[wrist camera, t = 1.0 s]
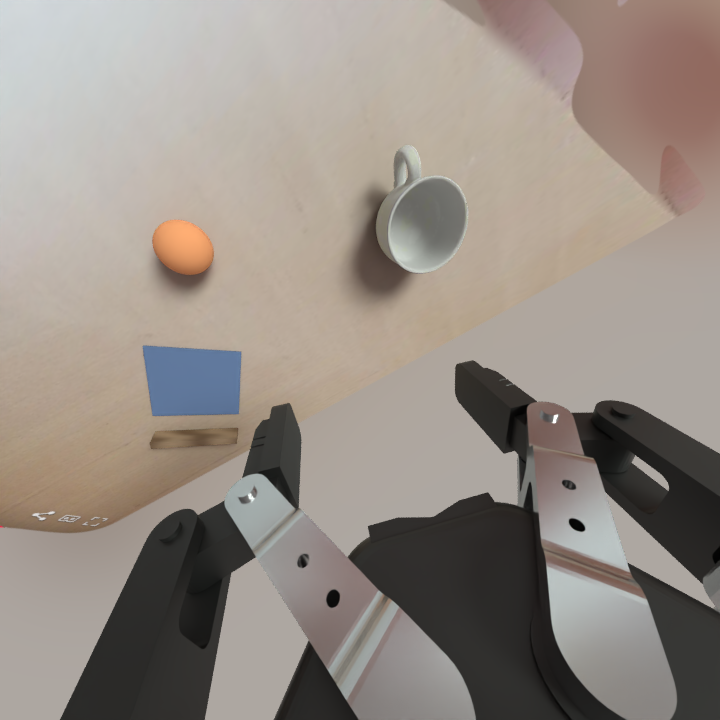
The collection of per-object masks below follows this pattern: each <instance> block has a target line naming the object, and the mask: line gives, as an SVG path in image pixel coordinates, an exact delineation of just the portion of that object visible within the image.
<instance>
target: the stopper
mask: <svg viewBox="0 0 720 720" xmlns="http://www.w3.org/2000/svg"><path fill="white" fill-rule="evenodd" d="M237 437H238V428H227V429H203V430H180V431H157V432H155V434H154V436H153V438H152V440H151V442H150V446H151V449H157V448H173V447H188V446H204V445H220V444H235V443H237Z"/></svg>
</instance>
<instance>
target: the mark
mask: <svg viewBox="0 0 720 720" xmlns="http://www.w3.org/2000/svg"><path fill="white" fill-rule="evenodd" d="M143 352H144V359H145V365H146V372H147V379H148V386H149V393H150V400H151V407H152V414H153V416H170V415H213V414H239V393H240V368H241V352H236V351H220V350H204V349H188V348H173V347H157V346H143Z"/></svg>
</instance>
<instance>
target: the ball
mask: <svg viewBox="0 0 720 720" xmlns="http://www.w3.org/2000/svg"><path fill="white" fill-rule="evenodd" d="M152 241H153V248H154V251H155V253H156V255H157V257H158V258H159V259H160V261H161V262H162V263H163V264H164V265H165V266H167V267H168V268H170V269H171V270H173V271H175V272H178V273H181V274H186V275H194V274H199V273H201V272H203V271H205V270H206V269H207V268H208V267H209V266H210V265H211V263H212V261H213V256H214V251H213V246H212V243H211V241H210V239H209V238H208V236H207V235H206V234H205V233H204V232H203V231H202V230H201V229H200V228H199V227H197V226H196V225H194V224H192V223H189V222H187V221H182V220H170V221H166V222H164V223H162V224H161V225H159V226H158V227H157V229H156V230H155V232H154V234H153V240H152Z"/></svg>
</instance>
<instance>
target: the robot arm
mask: <svg viewBox="0 0 720 720" xmlns="http://www.w3.org/2000/svg"><path fill="white" fill-rule="evenodd" d="M455 369H456V371H455V394H456V397H457V400H458V402H459V403H460V404H461V405H462V406H463V408H464V409H465V410H466V411H467V412H468V413H469V414H470V416H471V417H472V418H473V419H474V420H475V421H476V422H477V424H478V425H479V426H480V427H481V428H482V429H483V430H484V431H485V433H486V434H487V435H488V436H489V437H490V438H491V440H492V441H493V442H494V443H495V444H496V445H497V446H498V447H499V449H500V450H501V451H502V452H503V453H508V452H512V451H516V452H517V454H518V458H517V478H518V504H517V506H516V505H512V504H508V503H500V502H494V500H493V499H492V497H491V496H490V494H489V493H484V494H481V495H478V496H473V497H470V498H467V499H463V500H459V501H458V502H456V503H455V504H453V505H452V506H450V507H448V508H447V509H445V510H444V511H442V512H441V513H439V514H438V515H436V516H434V517H425V518H424V517H423V518H422V517H421V518H395V519H392V520H388V521H385V522H381V523H378V524H374V525H370V526H368V529H369V534H370V537H369V538H367V539H365V540H364V541H363V542H361V543H360V544H359V545H358V546H357V547H356V548H355V549H354V550H353V551H352V552H351V553H350V555H349V556H348V557H347V556H345V554H344V553H343V552H342V551H341V550H340V549H339V548H338V547H337V546H336V545H335V544H334V543H333V542H332V541H331V540H330V539H329V538H328V537H327V535H326V534H325V533H324V532H323V531H322V530H321V529H320V528H319V527H318V526H317V525H316V524H315V523H314V522H313V521H312V520H311V519H310V518H309V517H308V516H307V515H306V514H305V513H304V512H303V511H302V510H301V509H300V508H299V484H300V460H301V434H300V429H299V426H298V424H297V421H296V418H295V415H294V413H293V410H292V407H291V405H290V403H287V404H283V405H278V406H274V407H272V409H271V414H270V419H267V420H263V421H262V422H261V423H260V425H259V426H258V427H257V429H256V430H255V434H254V437H253V441H252V445H251V449H250V452H249V456H248V459H247V463H246V466H245V470H244V474H243V477H242V479H240V480H239V481H238V482H236V483H235V484H234V485H233V486H232V487H231V489H230V490H229V491H228V493H227V495H226V498H225V501H223V502H221V503H220V504H218V505H216V506H214V507H213V508H211V509H209V510H207V511H205V512H203V513H201V514H200V515H197V514H196V513H195V512H194V511H193V510H191V509H183V510H179V511H176V512H174V513H172V514H171V515H169V516H168V517H166V518H165V519H163V520H162V521H161V522H160V523H159V524H158V525H157V526H156V527H155V528H154V529H153V531H152V532H151V534H150V535H149V536H148V538H147V540H146V542H145V544H144V546H143V548H142V551H141V553H140V555H139V557H138V559H137V561H136V563H135V565H134V567H133V569H132V571H131V573H130V575H129V578H128V579H127V582H126V584H125V586H124V588H123V590H122V592H121V594H120V596H119V598H118V600H117V602H116V604H115V607H114V609H113V611H112V613H111V615H110V617H109V619H108V621H107V623H106V625H105V627H104V629H103V632H102V634H101V636H100V638H99V640H98V642H97V644H96V646H95V648H94V650H93V652H92V655H91V656H90V659H89V661H88V663H87V665H86V667H85V669H84V671H83V673H82V675H81V677H80V679H79V682H78V684H77V686H76V688H75V690H74V692H73V694H72V696H71V698H70V700H69V702H68V704H67V707H66V709H65V711H64V713H63V715H62V717H61V719H60V720H205V714H206V709H207V704H208V698H209V692H210V687H211V681H212V676H213V671H214V665H215V659H216V654H217V648H218V643H219V638H220V632H221V627H222V621H223V616H224V610H225V605H226V599H227V593H228V587H229V583H230V577H231V572H233V571H235V570H236V569H238V568H240V567H241V566H243V565H244V564H246V563H247V562H249V561H250V560H252V559H253V558H255V557H256V558H257V559H258V561H259V562H260V564H261V566H262V567H263V569H264V570H265V572H266V573H267V575H268V577H269V578H270V580H271V581H272V583H273V585H274V586H275V588H276V589H277V591H278V592H279V594H280V595H281V597H282V599H283V600H284V602H285V603H286V605H287V607H288V608H289V610H290V611H291V613H292V614H293V616H294V618H295V619H296V621H297V622H298V624H299V626H300V627H301V628H302V630H303V632H304V633H305V635H306V636H307V638H308V640H309V641H308V643H307V646H306V648H305V650H304V653H303V655H302V657H301V659H300V661H299V664H298V666H297V668H296V671H295V673H294V675H293V677H292V680H291V682H290V684H289V686H288V689H287V691H286V693H285V696H284V698H283V700H282V703H281V705H280V707H279V709H278V711H277V714H276V716H275V718H274V720H720V454H719V453H717V452H716V451H714V450H712V449H710V448H709V447H707V446H705V445H703V444H702V443H700V442H698V441H696V440H695V439H693V438H691V437H689V436H688V435H686V434H684V433H682V432H681V431H679V430H677V429H675V428H674V427H672V426H670V425H668V424H667V423H665V422H663V421H661V420H660V419H658V418H656V417H654V416H653V415H651V414H649V413H648V412H646V411H644V410H642V409H640V408H638V407H636V406H634V405H631V404H628V403H624V402H619V401H611V400H610V401H601V402H599V403H597V404H596V406H595V409H594V412H593V413H571V412H570V411H569V410H567V409H566V408H564V407H562V406H560V405H557V404H555V403H550V402H537V401H536V400H534V399H533V398H532V397H530V396H529V395H528V394H526V393H525V392H524V391H522V390H521V389H520V388H518V387H517V386H516V385H513V383H512V382H510V381H509V380H508V379H507V380H506V378H505V377H503V376H502V375H501V374H499V373H498V372H496V371H493V370H491V369H488V368H483V367H481V366H480V365H479V364H478V363H476V362H475V361H468V362H464V363H459V364H457V365H456V368H455ZM635 455H636V456H637V457H639V458H640V459H641V460H643V461H644V462H646V463H647V464H648V465H650V466H651V467H652V468H654V469H655V470H656V471H658V472H659V473H660V474H662V475H663V476H664V478H665V479H666V480H667V482H668V484H669V491H667V490H666V489H665V488H663V487H662V486H661V485H659V484H658V483H657V482H656V481H654V480H653V479H652V478H650V477H649V476H648V475H647V474H645V473H644V472H643V471H641V470H640V469H639V468H637V467H636V466H635V465H634V464H632V460H633V459H634V457H635ZM605 492H606V493H607V494H608V495H609V496H610V497H611V498H612V499H613V500H614V501H615V502H616V503H618V505H620V506H621V507H622V508H623V509H624V510H625V511H626V512H627V513H628V514H629V515H630V516H631V517H632V518H633V519H634V520H635V521H636V522H638V523H639V524H640V525H641V526H642V527H643V528H644V529H645V530H646V531H647V532H648V533H649V534H650V535H651V536H652V537H653V538H655V539H656V540H657V541H658V542H659V543H660V544H661V545H662V546H663V547H664V548H665V549H666V550H667V551H668V552H669V553H670V554H671V555H672V556H673V557H675V558H676V559H677V560H678V561H679V562H680V563H681V564H682V565H683V566H684V567H685V568H686V569H687V570H688V571H689V572H691V573H692V574H693V575H694V576H695V577H696V578H697V579H698V580H699V581H700V582H701V583H702V584H703V586H704V589H705V591H706V593H707V594H708V596H709V598H710V599H711V601H712V602H713V603H714V605H715V607H714V609H713V608H711V607H709V606H707V605H705V604H703V603H701V602H700V601H698V600H696V599H694V598H692V597H690V596H688V595H687V594H685V593H683V592H681V591H679V590H677V589H675V588H674V587H672V586H670V585H668V584H666V583H664V582H662V581H660V580H659V579H657V578H655V577H653V576H651V575H649V574H648V573H646V572H644V571H642V570H640V569H638V568H636V567H635V566H633V565H631V564H629V563H627V561H626V558H625V554H624V551H623V548H622V545H621V542H620V538H619V535H618V532H617V529H616V526H615V522H614V519H613V516H612V513H611V509H610V506H609V503H608V500H607V497H606V493H605Z"/></svg>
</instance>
